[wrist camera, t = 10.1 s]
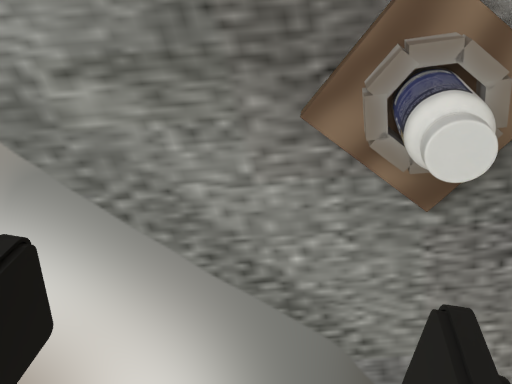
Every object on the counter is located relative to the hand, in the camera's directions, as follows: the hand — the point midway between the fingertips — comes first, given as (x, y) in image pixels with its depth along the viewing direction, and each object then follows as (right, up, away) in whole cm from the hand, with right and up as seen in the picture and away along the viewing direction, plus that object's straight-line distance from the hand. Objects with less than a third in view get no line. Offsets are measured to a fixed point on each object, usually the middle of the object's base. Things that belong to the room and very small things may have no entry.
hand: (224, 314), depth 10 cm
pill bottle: (+14, +10, +23) cm, 29 cm away
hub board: (+14, +11, +24) cm, 30 cm away
